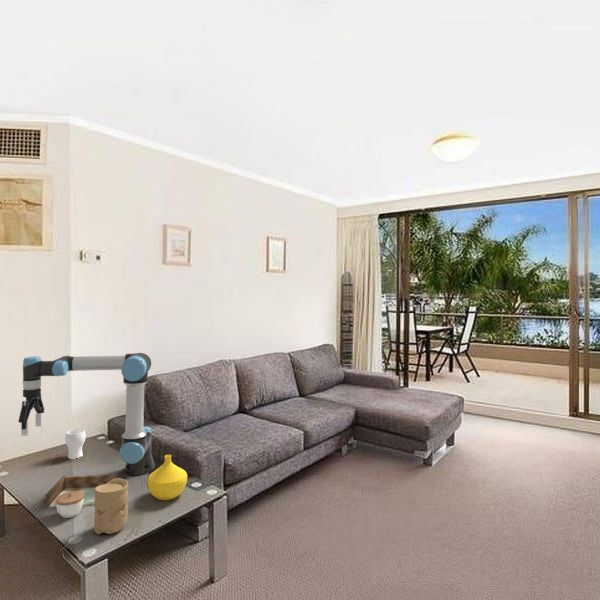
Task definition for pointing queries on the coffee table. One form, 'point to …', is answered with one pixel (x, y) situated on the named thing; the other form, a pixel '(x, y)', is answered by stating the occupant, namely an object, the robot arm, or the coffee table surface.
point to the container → (111, 506)
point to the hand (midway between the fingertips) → (31, 430)
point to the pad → (88, 495)
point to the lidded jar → (69, 503)
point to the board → (70, 491)
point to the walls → (77, 484)
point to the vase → (167, 480)
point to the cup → (75, 442)
